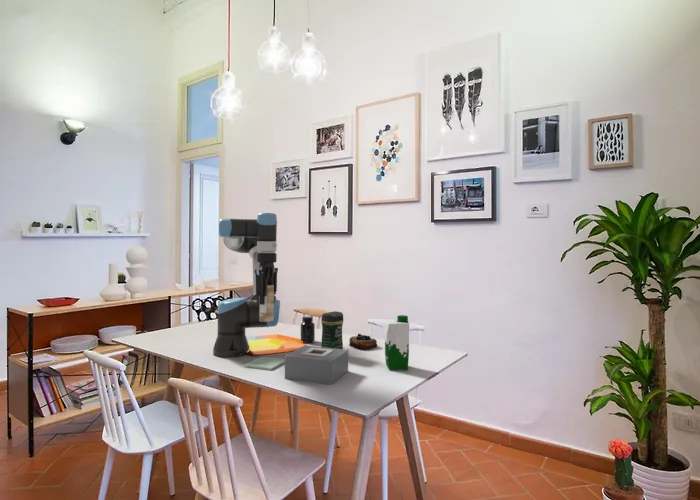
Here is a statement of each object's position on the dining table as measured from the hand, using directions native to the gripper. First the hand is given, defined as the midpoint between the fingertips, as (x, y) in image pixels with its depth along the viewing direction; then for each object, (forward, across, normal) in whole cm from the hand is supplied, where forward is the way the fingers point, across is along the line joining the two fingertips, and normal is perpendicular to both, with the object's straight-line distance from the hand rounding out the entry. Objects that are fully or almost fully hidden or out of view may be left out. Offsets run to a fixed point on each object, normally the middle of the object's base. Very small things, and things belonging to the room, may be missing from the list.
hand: (266, 311), depth 160 cm
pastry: (+21, +41, -27) cm, 53 cm away
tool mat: (+21, 0, 0) cm, 21 cm away
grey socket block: (+21, -4, -24) cm, 32 cm away
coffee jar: (+21, +22, -19) cm, 36 cm away
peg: (+4, 0, 0) cm, 4 cm away
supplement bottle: (+21, +39, +1) cm, 44 cm away
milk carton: (+21, +15, -49) cm, 55 cm away
